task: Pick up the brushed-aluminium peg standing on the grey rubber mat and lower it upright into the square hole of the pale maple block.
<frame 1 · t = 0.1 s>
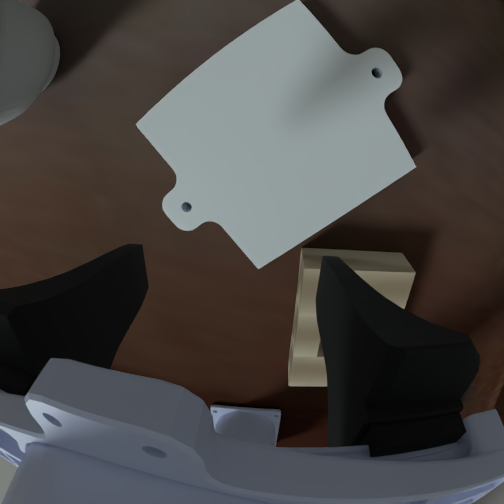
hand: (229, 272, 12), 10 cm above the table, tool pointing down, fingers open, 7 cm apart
hole block: (341, 314, 25), on the table
teacup: (33, 51, 16), on the table
mounting plate: (278, 133, 20), on the table
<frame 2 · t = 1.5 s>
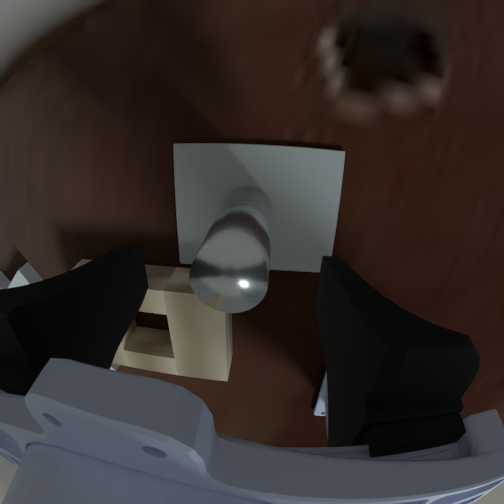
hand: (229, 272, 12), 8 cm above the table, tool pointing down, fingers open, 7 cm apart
peg: (247, 210, 19), resting on mat
hole block: (156, 309, 23), on the table
mounting plate: (51, 332, 27), on the table
mat: (256, 209, 19), on the table
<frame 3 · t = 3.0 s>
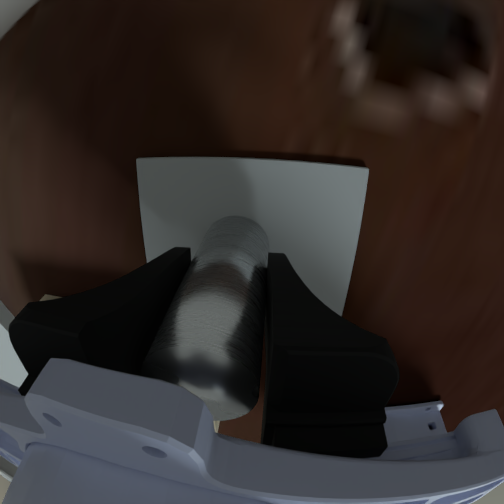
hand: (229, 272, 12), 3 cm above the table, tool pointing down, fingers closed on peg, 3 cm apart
peg: (236, 246, 14), resting on mat, touching gripper
teacup: (43, 438, 32), on the table
mounting plate: (27, 363, 23), on the table
mat: (247, 244, 14), on the table
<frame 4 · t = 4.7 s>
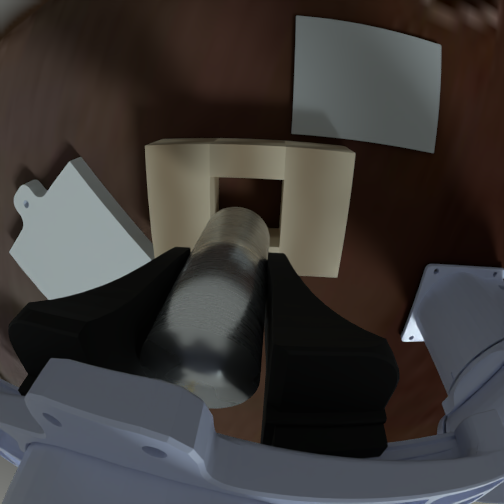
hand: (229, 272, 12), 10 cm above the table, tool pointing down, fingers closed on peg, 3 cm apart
peg: (236, 238, 14), point 7 cm above the table, touching gripper
hole block: (249, 197, 21), on the table
mounting plate: (90, 258, 25), on the table
mat: (371, 82, 16), on the table
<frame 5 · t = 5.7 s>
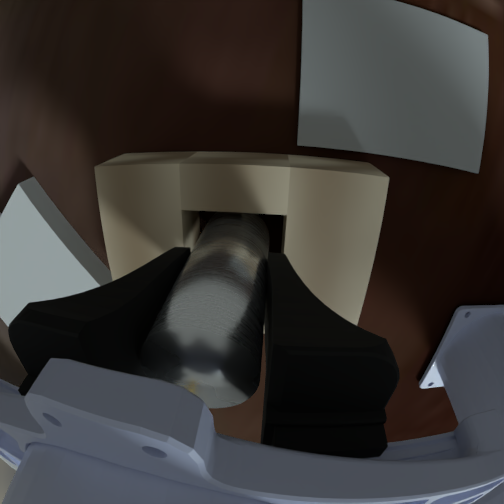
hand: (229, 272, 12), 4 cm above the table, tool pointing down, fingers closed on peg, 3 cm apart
peg: (236, 238, 14), point 2 cm above the table, touching gripper
hole block: (240, 231, 16), on the table
mounting plate: (56, 293, 20), on the table
mat: (405, 77, 11), on the table
when the fingers open (4 cm above the table, at t = 6.4 s): peg drops 2 cm, resting in hole block.
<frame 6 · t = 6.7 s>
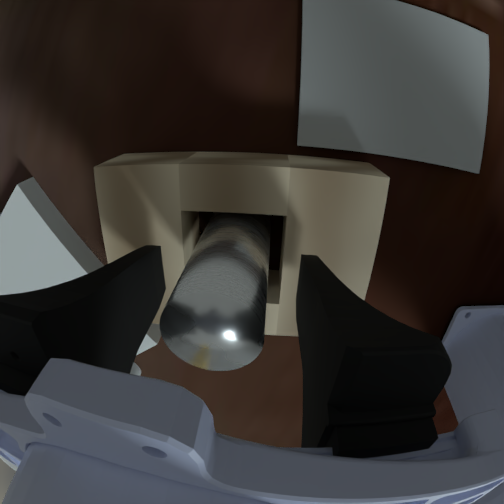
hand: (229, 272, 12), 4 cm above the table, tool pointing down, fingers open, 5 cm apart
peg: (240, 225, 16), resting in hole block
hole block: (240, 231, 16), on the table
mounting plate: (56, 294, 20), on the table
mat: (405, 77, 11), on the table
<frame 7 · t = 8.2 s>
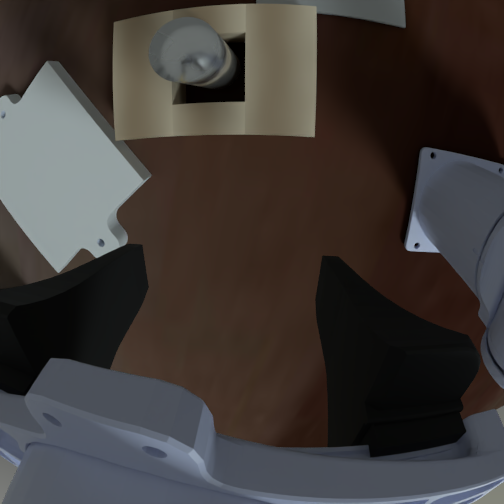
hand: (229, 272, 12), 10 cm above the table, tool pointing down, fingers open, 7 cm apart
peg: (217, 68, 17), resting in hole block
hole block: (217, 72, 18), on the table
mounting plate: (59, 167, 22), on the table
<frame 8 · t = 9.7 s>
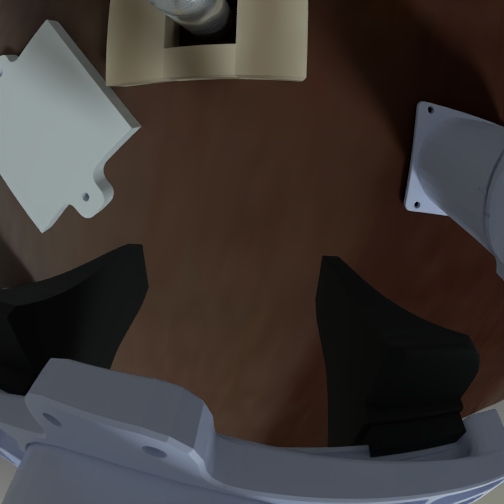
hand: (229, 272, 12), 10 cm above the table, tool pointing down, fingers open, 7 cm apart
peg: (211, 20, 16), resting in hole block
hole block: (210, 24, 16), on the table
mounting plate: (50, 124, 20), on the table
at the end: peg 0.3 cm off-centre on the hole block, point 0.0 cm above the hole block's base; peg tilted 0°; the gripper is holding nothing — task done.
